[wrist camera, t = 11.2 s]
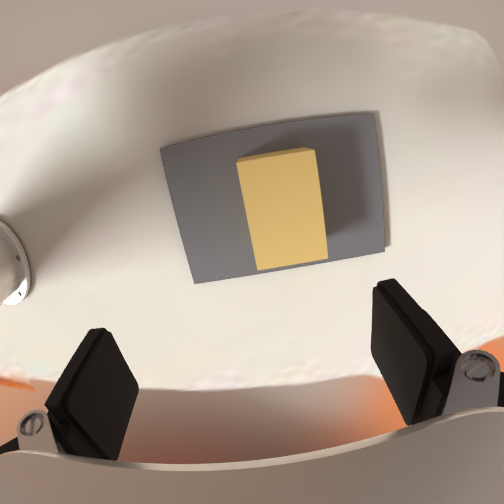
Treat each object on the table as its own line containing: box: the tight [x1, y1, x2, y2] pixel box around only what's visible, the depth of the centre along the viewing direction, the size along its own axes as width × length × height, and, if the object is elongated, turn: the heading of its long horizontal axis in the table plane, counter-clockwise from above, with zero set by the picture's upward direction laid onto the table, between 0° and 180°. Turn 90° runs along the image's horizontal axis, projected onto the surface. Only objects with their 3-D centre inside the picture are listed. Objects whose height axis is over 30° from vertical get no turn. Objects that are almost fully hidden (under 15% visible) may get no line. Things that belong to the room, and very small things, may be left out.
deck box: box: [236, 147, 328, 270], centre depth 26 cm, size 9×6×4 cm, turn 11°
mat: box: [160, 114, 385, 284], centre depth 28 cm, size 20×14×1 cm
